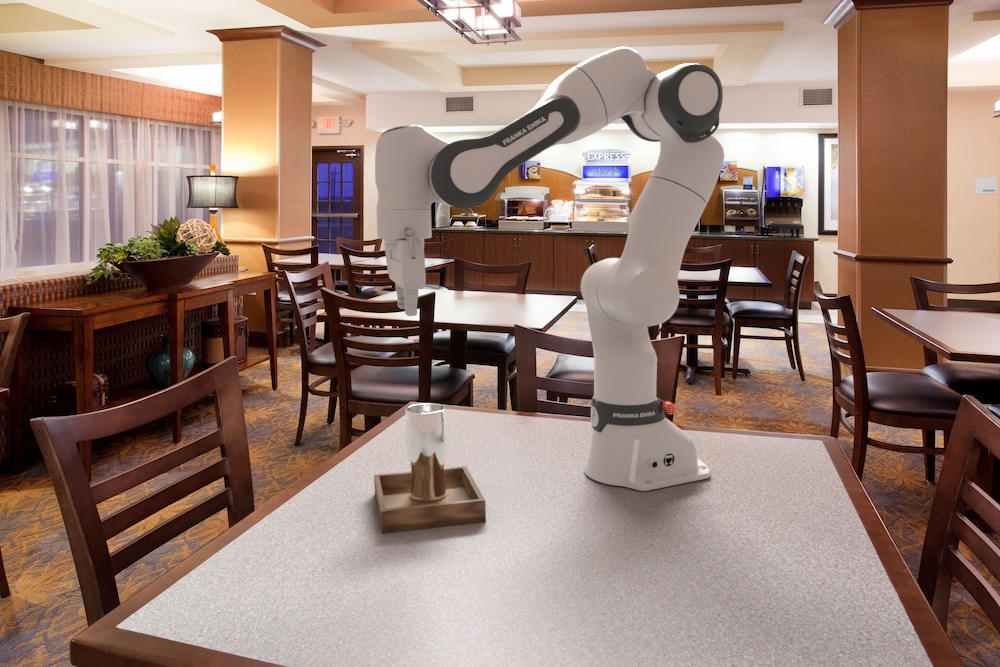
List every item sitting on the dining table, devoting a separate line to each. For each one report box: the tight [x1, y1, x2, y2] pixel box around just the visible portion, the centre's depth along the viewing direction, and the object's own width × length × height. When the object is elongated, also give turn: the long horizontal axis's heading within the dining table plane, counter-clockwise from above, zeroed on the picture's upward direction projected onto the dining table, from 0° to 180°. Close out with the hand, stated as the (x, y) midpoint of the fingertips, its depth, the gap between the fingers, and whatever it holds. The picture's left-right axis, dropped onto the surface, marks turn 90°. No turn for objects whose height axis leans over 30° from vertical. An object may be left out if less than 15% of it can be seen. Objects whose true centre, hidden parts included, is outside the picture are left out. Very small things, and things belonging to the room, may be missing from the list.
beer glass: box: [404, 402, 448, 502], centre depth 119 cm, size 7×7×15 cm
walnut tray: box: [373, 465, 487, 534], centre depth 118 cm, size 16×16×4 cm
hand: (407, 311), depth 120 cm, fingers open, 8 cm apart
